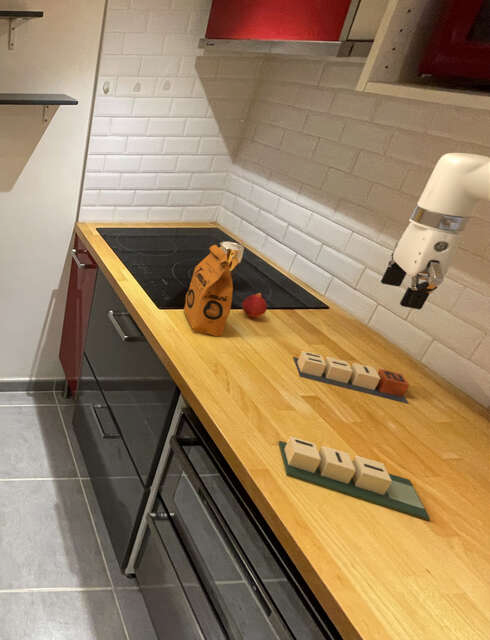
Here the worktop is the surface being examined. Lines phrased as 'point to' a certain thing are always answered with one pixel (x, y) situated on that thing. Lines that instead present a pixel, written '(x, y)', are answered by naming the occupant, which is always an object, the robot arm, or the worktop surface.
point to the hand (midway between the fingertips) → (399, 295)
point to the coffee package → (210, 294)
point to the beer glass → (232, 255)
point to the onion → (254, 305)
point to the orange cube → (392, 383)
